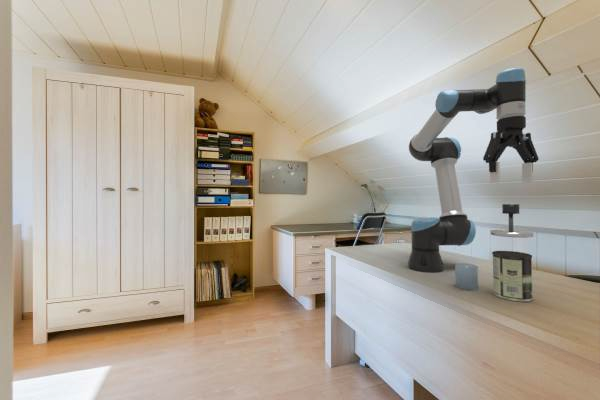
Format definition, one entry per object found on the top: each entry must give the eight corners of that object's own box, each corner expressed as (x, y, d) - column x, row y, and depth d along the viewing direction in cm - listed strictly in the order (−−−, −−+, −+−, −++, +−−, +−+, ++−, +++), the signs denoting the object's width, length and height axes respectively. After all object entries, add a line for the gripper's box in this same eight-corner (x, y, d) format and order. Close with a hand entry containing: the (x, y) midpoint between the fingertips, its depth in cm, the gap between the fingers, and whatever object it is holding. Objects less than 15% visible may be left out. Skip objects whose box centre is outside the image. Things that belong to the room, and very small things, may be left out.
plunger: (482, 233, 92) (482, 204, 92) (508, 232, 95) (507, 203, 95) (514, 238, 81) (514, 204, 81) (542, 236, 84) (542, 204, 84)
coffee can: (520, 291, 92) (519, 250, 92) (540, 303, 82) (540, 257, 82) (486, 289, 94) (486, 250, 94) (502, 300, 84) (502, 256, 84)
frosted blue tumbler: (450, 285, 100) (450, 263, 100) (466, 283, 101) (466, 262, 101) (466, 291, 93) (466, 268, 93) (482, 289, 95) (482, 267, 95)
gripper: (490, 112, 81) (491, 181, 81) (552, 116, 87) (553, 181, 87) (469, 119, 88) (470, 183, 89) (527, 123, 94) (528, 183, 94)
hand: (511, 182), depth 88 cm, fingers open, 13 cm apart
